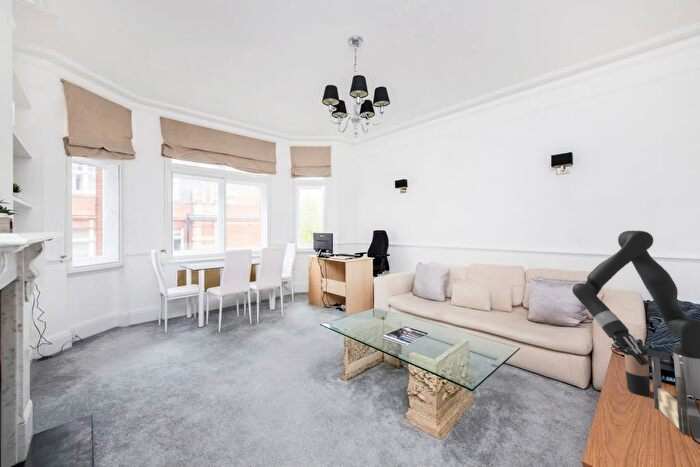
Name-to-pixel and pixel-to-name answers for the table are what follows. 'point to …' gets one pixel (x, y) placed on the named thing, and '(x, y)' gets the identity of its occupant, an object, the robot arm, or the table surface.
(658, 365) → the gate post
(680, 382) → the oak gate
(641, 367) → the travel mug
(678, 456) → the table surface
